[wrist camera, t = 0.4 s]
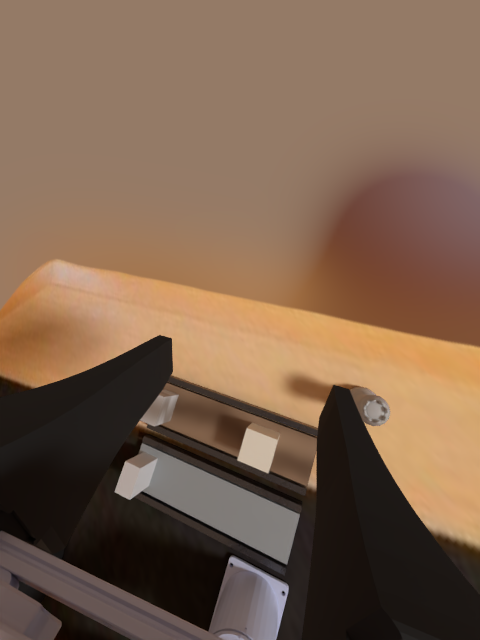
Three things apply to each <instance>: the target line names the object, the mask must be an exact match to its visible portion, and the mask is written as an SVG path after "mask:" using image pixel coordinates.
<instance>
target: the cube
mask: <svg viewBox="0 0 480 640" xmlns="http://www.w3.org/2000/svg"><path fill="white" fill-rule="evenodd" d="M279 435H280V433H279V432H276V431H273V430H271V429H268V428H265V427H263V426H260V425H258V424H255V423H251V424H250V425H249V426H248V427H247V429H246V432H245V435H244V439H243V442H242V446H241V449H240V452H239V456H238V459H237V460H238V461H240V462H242V463H245V464H247V465H249V466H252V467H254V468H256V469H259V470H261V471H264V472H266V473H269V470H270V467H271V464H272V461H273V457H274V453H275V450H276V446H277V443H278V439H279Z"/></svg>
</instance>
